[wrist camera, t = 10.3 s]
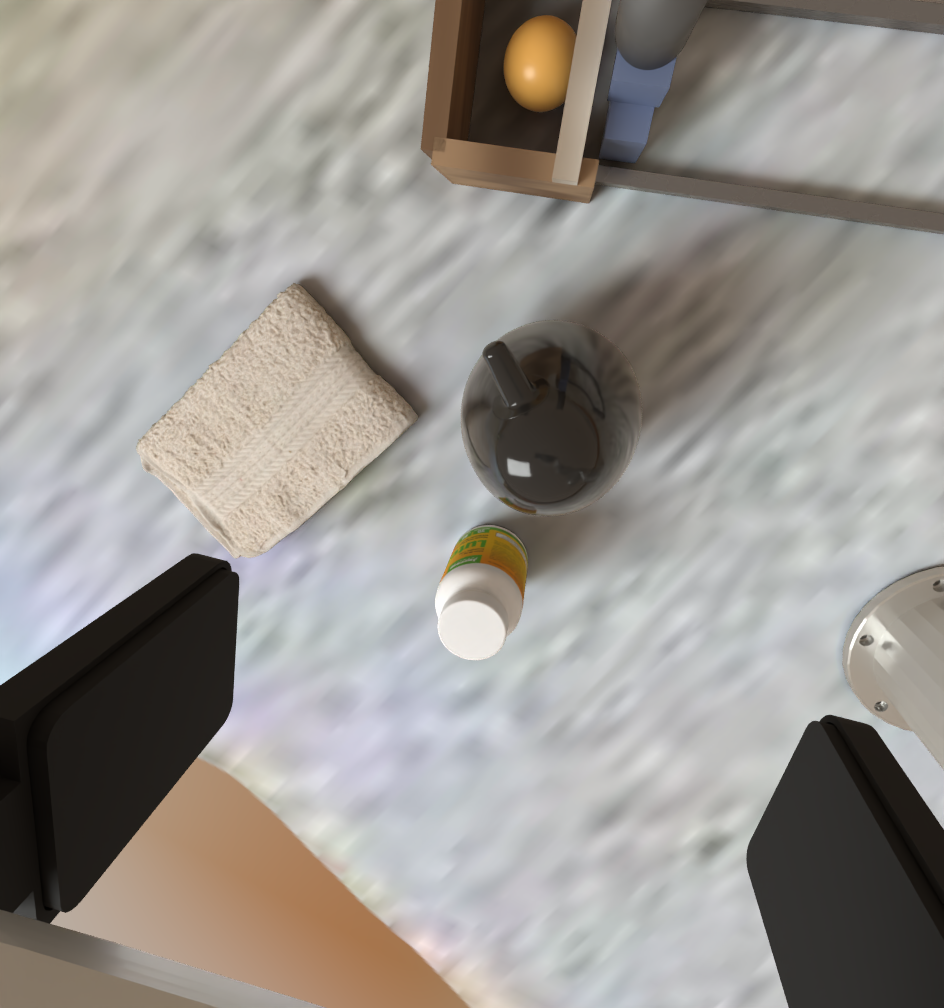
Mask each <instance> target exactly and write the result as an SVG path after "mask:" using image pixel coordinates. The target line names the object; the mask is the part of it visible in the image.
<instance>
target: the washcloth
mask: <svg viewBox="0 0 944 1008" xmlns="http://www.w3.org/2000/svg"><path fill="white" fill-rule="evenodd" d="M277 297H278V298H277V299H275V300H273V302H272V303H271V304H270V305H269V306H268V307H267V308H266V309H265V310H264V311H263V313H262V314H261V315H260V316H259V319H257V320H255V321H253V322H252V323H251V325H250V326H249V328H248V329H247V330H246V331H243V333H242V334H240V336H239V337H238V339H237V341H236V342H234V344H233V345H232V346H231V347H230V348H229V349H228V350H226V351H225V352H224V354H223V355H222V357H221V358H220V359H219V360H217V361H216V362H214V363H212V364H211V365H209V369H208V370H206V372H205V373H203V376H202V378H200V379H198V380H197V382H196V383H195V384H194V385H193V386H190V388H189V389H188V391H187V392H186V393H185V395H184V396H183V397H182V398H181V399H180V400H179V401H178V402H176V403H175V404H174V406H172V407H171V409H170V410H169V411H168V412H167V414H165V415H164V416H162V417H161V419H160V420H159V421H158V422H157V423H154V424H153V425H152V427H151V428H150V429H149V431H147V432H146V434H145V435H144V436H143V437H142V438H141V439H139V440H138V441H139V442H138V443H137V446H136V450H137V452H138V454H139V455H140V456H141V462H142V466H143V469H144V470H145V471H146V472H147V473H148V472H149V473H151V474H152V475H154V476H156V477H157V478H159V480H160V481H161V482H162V483H163V484H165V485H166V486H167V487H168V488H169V489H170V490H171V491H172V492H173V493H174V494H175V496H177V498H178V499H179V500H180V501H181V502H182V503H183V504H184V505H185V507H187V508H188V509H189V510H190V511H191V513H192V514H193V515H194V516H195V517H196V518H197V519H198V520H199V521H200V522H201V524H202V525H203V526H204V527H205V528H206V530H207V531H208V532H209V533H210V534H211V535H212V536H213V537H214V538H216V539H217V540H218V542H219V543H221V544H222V545H223V547H225V548H226V550H227V551H229V553H230V554H231V556H232V557H233V558H236V559H237V558H239V557H240V556H243V557H247V558H251V557H256V556H259V555H261V554H263V553H265V552H267V551H269V550H270V549H271V548H272V547H273V546H275V545H276V544H277V543H278V542H280V540H282V539H283V538H285V537H286V536H287V535H288V534H289V533H291V532H293V531H295V530H296V529H298V528H299V526H301V525H302V524H303V523H304V522H305V521H307V520H308V519H309V518H310V517H311V516H312V515H314V514H315V513H316V512H317V511H318V510H319V509H320V508H321V507H322V506H323V505H324V504H325V503H326V502H328V501H329V500H330V499H331V498H332V497H333V496H334V495H335V494H337V493H338V492H339V491H340V490H342V489H343V488H344V487H345V486H346V485H347V484H348V483H349V482H350V481H351V480H352V479H353V478H354V477H355V476H356V475H357V474H358V473H359V472H360V471H361V470H362V469H364V468H365V467H366V466H367V465H368V464H369V463H371V462H372V461H373V460H374V459H375V458H376V457H378V456H379V455H380V454H381V453H382V452H383V451H384V450H385V449H386V448H388V447H389V446H390V445H391V444H392V443H393V442H394V441H395V440H396V439H397V438H398V437H400V436H401V435H402V434H403V433H404V432H405V431H406V430H407V429H408V428H409V427H410V426H411V425H413V424H414V423H415V422H416V421H417V419H418V416H417V415H416V413H415V412H414V411H413V409H412V407H411V406H410V405H409V404H408V403H407V402H406V401H405V400H404V399H403V397H402V396H400V395H399V394H398V393H397V392H396V391H395V389H394V388H393V387H392V386H391V385H390V384H388V383H387V382H386V381H385V380H383V379H382V378H381V375H376V374H375V373H374V372H373V371H372V370H371V369H370V367H369V366H368V364H367V363H366V362H365V361H364V360H363V359H362V357H361V355H360V354H359V353H357V352H356V351H355V350H354V348H353V346H352V345H351V341H350V339H349V338H348V337H347V335H346V334H345V333H344V331H343V330H342V329H341V328H340V327H339V326H338V325H337V324H336V323H335V322H334V320H333V319H332V318H331V317H330V316H329V315H328V314H327V313H326V312H325V309H324V308H323V307H321V306H320V305H319V304H318V303H317V301H315V300H314V298H313V297H312V296H311V295H309V294H308V292H307V291H306V290H305V289H304V288H303V287H301V286H300V285H299V284H295V283H293V284H292V285H291V286H290V287H288V288H287V289H286V291H285V292H280V293H279V294H277Z"/></svg>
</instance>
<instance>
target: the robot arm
mask: <svg viewBox="0 0 944 1008" xmlns="http://www.w3.org/2000/svg"><path fill="white" fill-rule="evenodd" d="M238 596H239V576H238V574H237V573H236V572H232V570H231V566H230V563H228V562H227V561H224V560H220V559H216V558H212V557H209V556H205V555H201V554H195V553H193V554H191V555H189V556H187V557H186V558H184V559H183V560H181V561H180V562H178V563H177V564H175V565H174V566H173V567H171V568H170V569H168V570H167V571H165V572H164V573H162V574H161V575H160V576H158V577H157V578H155V579H154V580H152V581H151V582H149V583H148V584H147V585H145V586H144V587H142V588H141V589H139V590H138V591H136V592H135V593H133V594H132V595H131V596H129V597H128V598H126V599H125V600H123V601H122V602H120V603H119V604H118V605H116V606H115V607H113V608H112V609H110V610H109V611H107V612H106V613H105V614H103V615H102V616H100V617H99V618H97V619H96V620H94V621H93V622H92V623H90V624H89V625H87V626H86V627H84V628H83V629H81V630H80V631H78V632H77V633H76V634H74V635H73V636H71V637H70V638H68V639H67V640H65V641H64V642H63V643H61V644H60V645H58V646H57V647H55V648H54V649H52V650H51V651H50V652H48V653H47V654H45V655H44V656H42V657H41V658H39V659H38V660H36V661H35V662H34V663H32V664H31V665H29V666H28V667H26V668H25V669H23V670H22V671H21V672H19V673H18V674H16V675H15V676H13V677H12V678H10V679H9V680H8V681H6V682H5V683H3V684H2V685H0V1008H325V1007H322V1006H319V1005H315V1004H312V1003H309V1002H306V1001H303V1000H299V999H296V998H293V997H289V996H286V995H283V994H280V993H276V992H273V991H270V990H267V989H264V988H260V987H257V986H254V985H250V984H247V983H244V982H241V981H238V980H235V979H231V978H228V977H225V976H221V975H218V974H215V973H212V972H209V971H205V970H202V969H199V968H196V967H192V966H189V965H186V964H183V963H180V962H176V961H173V960H170V959H167V958H163V957H160V956H157V955H154V954H150V953H147V952H144V951H141V950H137V949H134V948H131V947H127V946H124V945H121V944H118V943H115V942H111V941H108V940H104V939H101V938H97V937H94V936H91V935H87V934H83V933H80V932H77V931H73V930H69V929H66V928H62V927H59V926H55V925H52V924H50V923H51V922H52V920H53V919H54V918H55V917H56V916H57V914H58V913H59V912H60V911H62V912H65V913H66V912H69V911H71V910H72V909H73V908H75V907H76V906H77V905H78V903H80V902H81V900H82V899H83V898H84V897H85V896H86V894H87V893H88V892H89V891H90V889H91V888H92V887H93V886H94V884H95V883H96V882H97V881H98V879H99V878H100V877H101V876H102V874H103V873H104V872H105V871H106V869H107V868H108V867H109V866H110V864H111V863H112V862H113V861H114V859H115V858H116V857H117V856H118V854H119V853H120V852H121V851H122V849H123V848H124V847H125V846H126V845H127V843H128V842H129V841H130V840H131V839H132V837H133V836H134V835H135V833H136V832H137V831H138V830H139V828H140V827H141V826H142V825H143V824H144V822H145V821H146V820H147V819H148V817H149V816H150V815H151V814H152V812H153V811H154V810H155V809H156V807H157V806H158V805H159V804H160V802H161V801H162V800H163V799H164V798H165V796H166V795H167V794H168V793H169V791H170V790H171V789H172V788H173V786H174V785H175V784H176V783H177V781H178V780H179V779H180V778H181V776H182V775H183V774H184V773H185V771H186V770H187V769H188V768H189V766H190V765H191V764H192V763H193V762H194V760H195V759H196V758H197V757H198V755H199V754H200V753H201V752H202V750H203V749H204V748H205V747H206V745H207V744H208V743H209V742H210V740H211V739H212V738H213V737H214V735H215V734H216V733H217V732H218V731H219V729H220V728H221V727H222V726H223V724H224V723H225V721H226V720H227V718H228V716H229V713H230V711H231V707H232V703H233V689H234V670H235V652H236V633H237V615H238ZM842 664H843V668H844V673H845V677H846V679H847V681H848V683H849V685H850V687H851V689H852V691H853V692H854V694H855V695H856V696H857V698H858V699H859V700H860V702H861V703H862V704H863V705H864V706H865V707H866V708H867V709H868V710H869V711H870V712H871V713H872V714H873V715H875V716H877V717H878V718H880V719H881V720H883V721H885V722H886V723H888V724H891V725H893V726H896V727H899V728H901V729H904V730H909V731H913V732H914V733H915V734H916V735H917V737H918V738H919V739H920V740H921V742H922V743H923V744H924V746H925V747H926V748H927V749H928V751H929V752H930V753H931V755H932V756H933V757H934V758H935V760H936V761H937V762H938V764H939V765H940V766H941V767H942V769H943V770H944V567H936V568H932V569H929V570H925V571H922V572H918V573H915V574H913V575H910V576H908V577H906V578H904V579H901V580H899V581H897V582H895V583H894V584H892V585H890V586H889V587H887V588H886V589H884V590H883V591H881V592H880V593H878V594H877V595H876V596H875V597H874V598H873V599H872V600H871V601H869V602H868V603H867V604H866V605H865V606H864V607H863V609H862V610H861V611H860V613H859V614H858V615H857V616H856V618H855V619H854V621H853V623H852V625H851V627H850V629H849V630H848V632H847V635H846V638H845V642H844V646H843V663H842ZM747 868H748V873H749V876H750V879H751V883H752V886H753V889H754V893H755V896H756V899H757V903H758V906H759V909H760V913H761V916H762V919H763V923H764V926H765V929H766V933H767V936H768V939H769V943H770V946H771V949H772V953H773V956H774V959H775V963H776V966H777V970H778V973H779V976H780V980H781V983H782V986H783V990H784V993H785V996H786V1000H787V1003H788V1006H789V1008H944V829H943V828H942V826H941V825H940V824H939V822H938V821H937V819H936V818H935V816H934V815H933V813H932V812H931V810H930V809H929V807H928V806H927V805H926V803H925V802H924V800H923V799H922V797H921V796H920V794H919V793H918V791H917V790H916V788H915V787H914V786H913V784H912V783H911V781H910V780H909V778H908V777H907V775H906V774H905V772H904V771H903V769H902V768H901V767H900V765H899V764H898V762H897V761H896V759H895V758H894V756H893V755H892V753H891V752H890V750H889V749H888V748H887V746H886V745H885V743H884V742H883V740H882V739H881V737H880V736H879V734H878V733H877V731H876V730H875V729H874V728H873V727H872V726H870V725H868V724H865V723H861V722H857V721H853V720H849V719H845V718H841V717H837V716H833V715H826V716H825V717H823V718H822V719H821V720H820V722H818V721H812V722H811V723H810V724H809V725H808V726H807V728H806V730H805V732H804V734H803V736H802V738H801V740H800V742H799V744H798V746H797V748H796V750H795V752H794V754H793V756H792V758H791V760H790V762H789V764H788V766H787V768H786V770H785V772H784V774H783V776H782V778H781V780H780V782H779V784H778V786H777V788H776V790H775V792H774V794H773V796H772V798H771V800H770V802H769V804H768V806H767V808H766V810H765V812H764V814H763V816H762V818H761V820H760V822H759V824H758V826H757V828H756V830H755V832H754V834H753V836H752V838H751V840H750V843H749V845H748V849H747Z"/></svg>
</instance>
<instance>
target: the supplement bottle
mask: <svg viewBox="0 0 944 1008" xmlns="http://www.w3.org/2000/svg"><path fill="white" fill-rule="evenodd" d="M527 569H528V556H527V552H526V549H525V547H524V545H523V543H522V542H521V540H520V539H519V538H518V537H517V536H516V535H515V534H514V533H512V532H511V531H509V530H507V529H505V528H502V527H499V526H494V525H483V526H478V527H475V528H473V529H471V530H469V531H467V532H466V533H465V534H464V535H463V536H462V537H461V538H460V539H459V540H458V542H457V544H456V546H455V548H454V550H453V552H452V555H451V557H450V560H449V562H448V565H447V567H446V569H445V572H444V574H443V577H442V579H441V581H440V584H439V586H438V589H437V593H436V597H435V607H436V612H437V615H438V618H439V620H438V633H439V637H440V639H441V641H442V643H443V644H444V646H445V647H446V648H447V649H448V650H449V651H450V652H452V653H453V654H455V655H457V656H459V657H461V658H464V659H468V660H482V659H486V658H489V657H491V656H493V655H494V654H496V653H497V652H498V651H499V650H500V649H501V648H502V646H503V645H504V642H505V640H506V637H507V636H508V635H509V634H510V633H511V632H512V631H513V630H514V629H515V627H516V626H517V624H518V622H519V620H520V616H521V612H522V608H523V600H524V591H525V583H526V576H527Z"/></svg>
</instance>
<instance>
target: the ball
mask: <svg viewBox="0 0 944 1008" xmlns="http://www.w3.org/2000/svg"><path fill="white" fill-rule="evenodd" d="M576 36H577V35H576V34H575V32H574V30H573V29H572V28H571V27H570V26H569V25H568V24H567V23H566V22H565V21H563V20H562V19H560V18H558V17H555V16H551V15H541V16H536V17H534V18H531V19H529V20H528V21H526V22H524V23H523V24H522V25H521V26H520V27H519V28H518V29H517V30H516V31H515V33H514V34H513V36H512V37H511V39H510V41H509V43H508V46H507V49H506V52H505V57H504V77H505V81H506V85H507V87H508V90H509V92H510V94H511V95H512V97H513V98H514V99H515V100H516V102H517V103H519V104H520V105H521V106H522V107H524V108H526V109H528V110H531V111H535V112H546V111H550V110H553V109H555V108H557V107H559V106H560V105H562V104H563V103H564V102H565V100H566V94H567V88H568V83H569V77H570V71H571V65H572V60H573V54H574V48H575V42H576Z"/></svg>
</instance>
